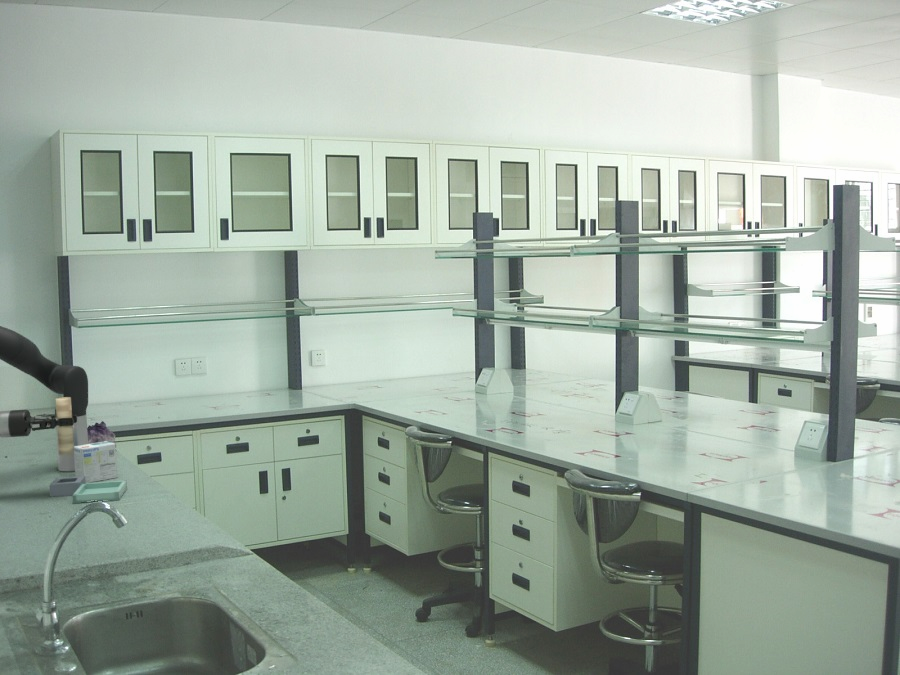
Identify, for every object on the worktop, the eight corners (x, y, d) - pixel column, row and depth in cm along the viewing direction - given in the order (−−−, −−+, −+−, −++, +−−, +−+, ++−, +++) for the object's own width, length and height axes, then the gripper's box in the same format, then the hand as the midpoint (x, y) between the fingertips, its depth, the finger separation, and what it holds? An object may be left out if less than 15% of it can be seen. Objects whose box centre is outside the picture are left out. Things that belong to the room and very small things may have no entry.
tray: (83, 491, 260) (82, 483, 260) (126, 488, 262) (126, 480, 262) (72, 503, 246) (72, 495, 246) (119, 500, 249) (118, 492, 248)
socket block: (56, 490, 262) (56, 478, 262) (85, 487, 264) (85, 476, 264) (50, 496, 254) (49, 484, 254) (80, 494, 256) (79, 482, 256)
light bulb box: (108, 474, 281) (106, 440, 280) (118, 477, 276) (116, 443, 275) (74, 480, 273) (72, 445, 273) (83, 484, 269) (81, 448, 268)
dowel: (60, 452, 260) (57, 397, 258) (75, 451, 260) (72, 396, 259) (57, 455, 256) (54, 399, 254) (72, 454, 257) (69, 398, 255)
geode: (76, 446, 329) (78, 419, 329) (109, 447, 334) (111, 420, 334) (81, 454, 311) (83, 425, 311) (116, 454, 316) (119, 426, 316)
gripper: (2, 414, 247) (69, 411, 251) (16, 406, 261) (79, 403, 264) (4, 441, 248) (70, 437, 251) (18, 432, 262) (81, 428, 265)
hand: (74, 420), depth 258 cm, fingers closed on dowel, 4 cm apart
